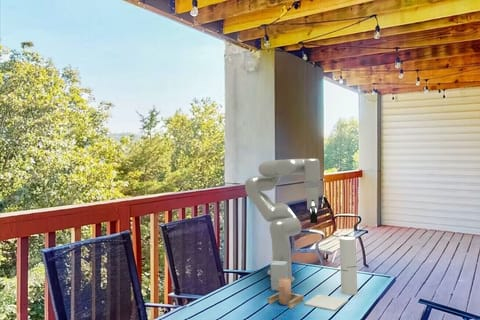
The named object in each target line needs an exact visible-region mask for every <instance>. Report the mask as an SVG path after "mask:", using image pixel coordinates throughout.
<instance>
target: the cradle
mask: <svg viewBox="0 0 480 320" xmlns="http://www.w3.org/2000/svg"><path fill="white" fill-rule="evenodd" d="M278 300H279V291H277V292H276V293H274V294H273V295H271V296H269V297H267V304H269V305H273V303H275V302H277V301H278ZM301 303H304V295H303V294H297V293H293V292H291V301H290V302H288V305H287V306H288V309H291V310H292V309H293V308H295V307H296V306H298V305H300V304H301Z"/></svg>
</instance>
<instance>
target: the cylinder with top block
mask: <svg viewBox="0 0 480 320" xmlns="http://www.w3.org/2000/svg"><path fill="white" fill-rule="evenodd" d="M278 292H279V304H280V305H284V306H285V305H286V306H288V302H290V301H291V293H292V282H291V279H289V278H280V279H279V291H278Z"/></svg>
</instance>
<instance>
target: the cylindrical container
mask: <svg viewBox="0 0 480 320" xmlns="http://www.w3.org/2000/svg"><path fill="white" fill-rule="evenodd" d="M356 242H357V241H356V237H353V236H342V237H339V258H340V259H339V263H340V264H339V265H340V285H341V286H340V287H341V288H340V290H341V294H343V295H345V296H355V295H357V294H358V276H357V275H358V273H357V272H358V271H357V269H358V268H357V243H356Z"/></svg>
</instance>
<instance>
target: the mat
mask: <svg viewBox="0 0 480 320" xmlns="http://www.w3.org/2000/svg"><path fill="white" fill-rule="evenodd" d="M348 302H349V299H346V298H342V297H341V298H340V297H336V296H330V295H325V294H320V293H318V294H317V295H315V296H313V297H312V298H310V299H308V300H307V301H305V302H303V305H304V306H308V307H312V308H316V309H323V310H327V311H331V312H336V311H338V310H339V309H340V308H342V307H343V306H344V305H346V303H348Z"/></svg>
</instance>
